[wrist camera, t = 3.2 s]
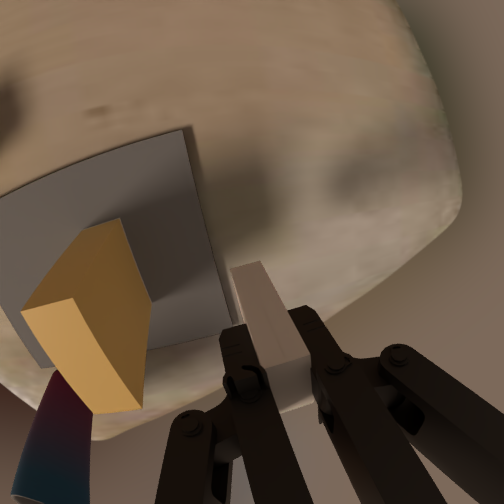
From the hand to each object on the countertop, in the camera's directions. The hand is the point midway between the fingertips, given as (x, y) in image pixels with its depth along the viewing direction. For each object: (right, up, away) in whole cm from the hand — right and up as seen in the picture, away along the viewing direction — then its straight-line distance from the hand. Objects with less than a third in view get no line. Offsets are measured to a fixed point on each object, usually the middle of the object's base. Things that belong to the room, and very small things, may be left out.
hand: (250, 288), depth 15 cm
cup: (-18, -12, +10) cm, 24 cm away
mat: (-13, 0, +6) cm, 14 cm away
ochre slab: (-10, +1, +5) cm, 11 cm away
